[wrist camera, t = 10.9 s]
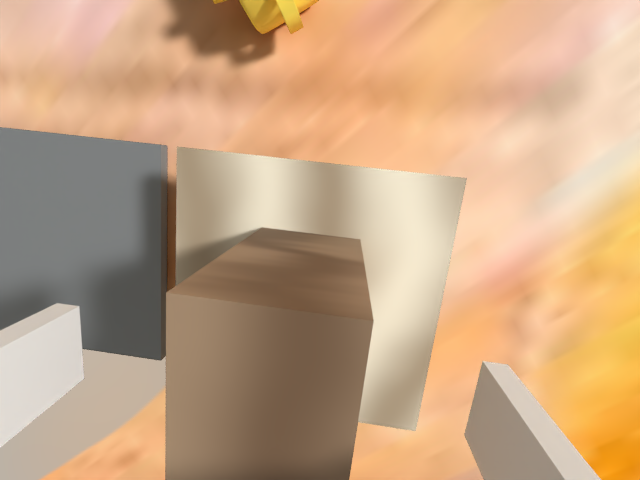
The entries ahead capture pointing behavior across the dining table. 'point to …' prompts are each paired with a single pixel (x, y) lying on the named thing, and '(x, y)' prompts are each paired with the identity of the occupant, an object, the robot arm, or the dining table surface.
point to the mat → (86, 236)
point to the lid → (298, 311)
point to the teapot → (274, 13)
